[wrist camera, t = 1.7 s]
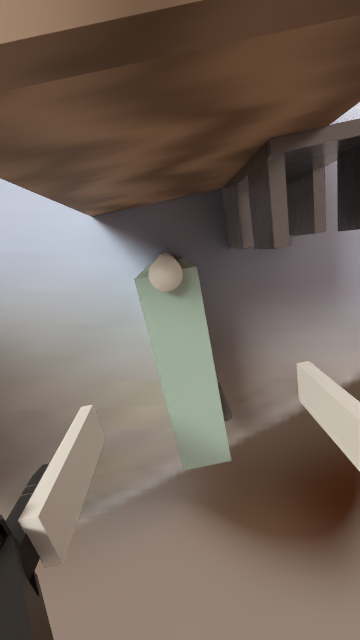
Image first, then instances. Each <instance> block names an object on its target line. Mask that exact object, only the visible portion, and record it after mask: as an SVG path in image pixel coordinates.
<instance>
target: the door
mask: <svg viewBox="0 0 360 640" xmlns="http://www.w3.org/2000/svg"><path fill="white" fill-rule="evenodd" d="M134 280H135V284H136V288H137V291H138V295H139V299H140V303H141V307H142V311H143V315H144V319H145V322H146V326H147V330H148V334H149V338H150V342H151V346H152V350H153V353H154V357H155V361H156V365H157V369H158V373H159V377H160V381H161V384H162V388H163V392H164V396H165V400H166V404H167V408H168V412H169V415H170V419H171V423H172V427H173V431H174V435H175V439H176V443H177V446H178V450H179V454H180V458H181V462H182V466H183V470H189V469H194V468H198V467H203V466H208V465H213V464H218V463H222V462H227V461H231V456H230V451H229V445H228V440H227V434H226V428H225V423H224V421H228V420H230V419H231V417H232V413H231V411H230V408H229V406H228V403H227V401H226V398H225V396H224V393H223V391H222V388H221V386H220V384H219V383H218V382H217V377H216V372H215V366H214V361H213V355H212V349H211V344H210V338H209V332H208V327H207V321H206V315H205V310H204V304H203V298H202V293H201V287H200V281H199V276H198V270H197V266H196V265H194V264H192V263H191V262H189V261H187V260H186V259H184V258H182V259H177V260H175V258H174V257H173V256H172V255H171V254H170V253H161V254H160V255H159V256H158V257H157V258H156V259H155V261H154V262H153V263H152V264H151V265H149V266H147V267H146V268H145V269H144V270H143V271H142V272H141V273H140V274H139V275H138V276H137V277H136V278H135V279H134Z"/></svg>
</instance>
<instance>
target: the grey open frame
mask: <svg viewBox="0 0 360 640" xmlns="http://www.w3.org/2000/svg"><path fill="white" fill-rule="evenodd" d="M336 160H337V172H338V231H346V230H357V229H360V119H356V120H351V121H346V122H342V123H337V124H332V125H328V126H323V127H318V128H313V129H309V130H304V131H299V132H295V133H290V134H285V135H281V136H276V137H271V138H269V139H268V140H267V141H266V142H265V143H264V144H263V145H262V147H261V148H260V149H259V150H258V151H257V152H256V153H255V154H254V155H253V156H252V157H251V158H250V159H249V160H248V161H247V162H246V163H245V164H244V166H243V167H242V168H241V169H240V170H239V171H238V172H237V173H236V174H235V175H234V176H233V177H232V178H231V179H230V180H229V181H228V182H227V183H226V185H225V186H224V187H223V188H222V189H221V190H222V197H223V205H224V212H225V220H226V227H227V235H228V242H229V248H236V249H244V248H249V247H253V246H254V241H255V249H277V248H282V247H286V246H290V240H289V236H293V235H304V234H314V233H319V232H324V231H326V216H325V166H327V165H329V164H331V163H332V162H334V161H336ZM249 193H250V201H249ZM250 202H251V210H250ZM251 212H252V220H251ZM252 222H253V230H252ZM253 232H254V239H253Z"/></svg>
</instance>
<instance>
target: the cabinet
mask: <svg viewBox="0 0 360 640" xmlns="http://www.w3.org/2000/svg"><path fill="white" fill-rule="evenodd" d="M359 102H360V0H0V178H1V179H4V180H6V181H8V182H11V183H13V184H15V185H18V186H20V187H23V188H25V189H27V190H30V191H32V192H34V193H37V194H39V195H42V196H44V197H46V198H49V199H51V200H53V201H56V202H58V203H61V204H63V205H65V206H68V207H70V208H73V209H75V210H77V211H80V212H82V213H84V214H87V215H89V216H96V215H101V214H106V213H110V212H115V211H120V210H124V209H129V208H134V207H139V206H143V205H148V204H153V203H157V202H162V201H167V200H171V199H176V198H181V197H186V196H190V195H195V194H200V193H204V192H209V191H214V190H218V189H222V188H223V187H224V186H225V185H226V183H227V182H228V181H229V180H230V179H231V178H232V177H233V176H234V175H235V174H236V173H237V172H238V171H239V170H240V169H241V168H242V167H243V166H244V164H245V163H246V162H247V161H248V160H249V159H250V158H251V157H252V156H253V155H254V154H255V153H256V152H257V151H258V150H259V149H260V148H261V147H262V145H263V144H264V143H265V142H266V141H267V140H268V139H269V138H271V137H276V136H281V135H285V134H290V133H295V132H299V131H304V130H309V129H313V128H318V127H323V126H328V125H330V124H331V123H332V122H334V121H335V120H336V119H337V118H339V117H340V116H341V115H343V114H344V113H345V112H347V111H348V110H349V109H351V108H352V107H353V106H355V105H356V104H357V103H359Z"/></svg>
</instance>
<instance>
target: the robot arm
mask: <svg viewBox="0 0 360 640" xmlns="http://www.w3.org/2000/svg"><path fill="white" fill-rule="evenodd" d="M297 377H298V393H299V401H300V402H301V403H302V404H303V406H304V407H305V408H306V409H307V410H308V411H309V413H310V414H311V415H312V416H313V417H314V419H315V420H316V421H317V422H318V423H319V424H320V425H321V427H322V428H323V429H324V430H325V431H326V433H327V434H328V435H329V436H330V437H331V438H332V440H333V441H334V442H335V443H336V444H337V445H338V446H339V448H340V449H341V450H342V451H343V452H344V454H345V455H346V456H347V457H348V458H349V460H350V461H351V462H352V463H353V464H354V465H355V466H356V468H357V469H358V470H359V471H360V402H359V401H358V400H356V399H355V398H354V397H353V396H351V395H350V394H349V393H348V392H346V391H345V390H344V389H343V388H341V387H340V386H339V385H338V384H337V383H335V382H334V381H333V380H332V379H330V378H329V377H328V376H327V375H325V374H324V373H323V372H322V371H320V370H319V369H318V368H317V367H315V366H314V365H313V364H312V363H311V362H309V361H306V362H301V363H297ZM104 441H105V437H104V434H103V431H102V429H101V426H100V423H99V420H98V418H97V415H96V412H95V409H94V407H93V405H88V406H83V407H81V408H80V410H79V412H78V413H77V415H76V417H75V419H74V421H73V422H72V424H71V426H70V428H69V430H68V431H67V433H66V435H65V437H64V439H63V440H62V442H61V444H60V446H59V448H58V449H57V451H56V453H55V455H54V457H53V458H52V460H51V462H50V464H46V465H42V466H41V467H40V468H39V469H38V471H37V472H36V473H35V474H34V475H33V476H32V478H31V480H30V481H29V483H28V485H27V487H26V488H25V490H24V491H23V493H22V496H21V497H20V498H19V500H18V501H17V503H16V505H15V506H14V508H13V510H12V511H11V513H10V515H9V516H8V518H7V520H6V521H5V520H4V519H3V517H2V515H0V640H54V639H53V635H52V631H51V627H50V624H49V620H48V616H47V612H46V608H45V604H44V600H43V596H42V592H41V588H40V584H39V581H38V576H37V574H36V573H35V568H36V566H37V563H38V561H39V559H40V560H41V562H42V564H43V566H44V567H45V568H47V567H52V566H58V565H63V564H64V561H65V558H66V555H67V552H68V549H69V546H70V543H71V540H72V537H73V534H74V531H75V528H76V525H77V522H78V519H79V516H80V513H81V510H82V507H83V504H84V501H85V498H86V495H87V492H88V489H89V486H90V483H91V480H92V477H93V474H94V471H95V468H96V465H97V462H98V459H99V456H100V453H101V450H102V447H103V444H104Z"/></svg>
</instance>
